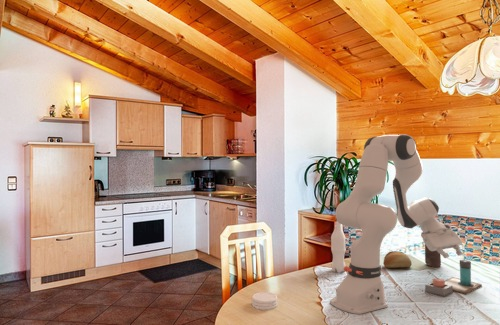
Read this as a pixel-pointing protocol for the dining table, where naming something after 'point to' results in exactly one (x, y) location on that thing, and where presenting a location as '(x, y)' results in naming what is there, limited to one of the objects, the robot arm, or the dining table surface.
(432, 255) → the candle
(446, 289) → the button housing
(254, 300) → the coaster
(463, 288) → the clipboard
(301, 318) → the dining table surface
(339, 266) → the water bottle
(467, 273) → the teal spice jar
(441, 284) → the button
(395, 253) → the bread roll
